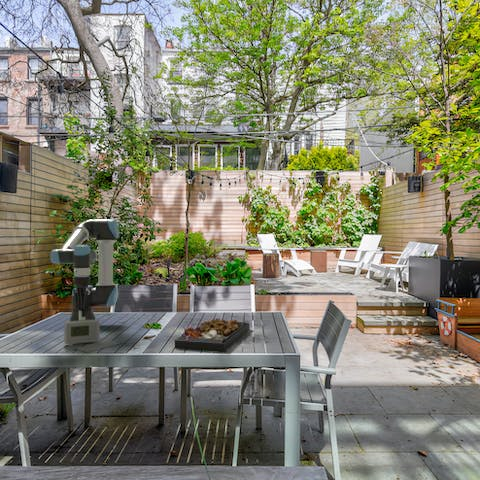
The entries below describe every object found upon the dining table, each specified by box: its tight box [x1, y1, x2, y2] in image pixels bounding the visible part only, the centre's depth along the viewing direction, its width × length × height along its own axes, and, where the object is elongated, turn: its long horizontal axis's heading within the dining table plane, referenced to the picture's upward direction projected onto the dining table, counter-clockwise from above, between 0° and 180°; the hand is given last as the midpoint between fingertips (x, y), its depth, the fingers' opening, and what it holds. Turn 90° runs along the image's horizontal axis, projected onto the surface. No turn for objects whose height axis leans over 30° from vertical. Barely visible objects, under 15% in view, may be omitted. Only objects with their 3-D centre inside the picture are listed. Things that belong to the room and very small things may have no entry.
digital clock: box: [63, 318, 101, 345], centre depth 182 cm, size 16×9×11 cm, turn 102°
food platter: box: [174, 317, 251, 353], centre depth 191 cm, size 45×25×10 cm, turn 164°
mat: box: [75, 339, 122, 353], centre depth 177 cm, size 10×18×1 cm, turn 145°
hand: (82, 323), depth 184 cm, fingers closed
